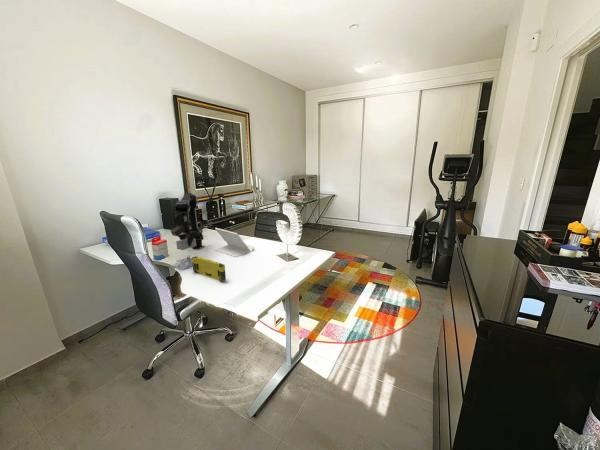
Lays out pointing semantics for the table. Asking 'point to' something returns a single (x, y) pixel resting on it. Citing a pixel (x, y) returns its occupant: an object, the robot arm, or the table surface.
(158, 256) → the ink box
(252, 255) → the table surface
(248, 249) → the tablet stand
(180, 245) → the drive
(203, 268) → the gaming console
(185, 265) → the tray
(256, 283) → the table surface
